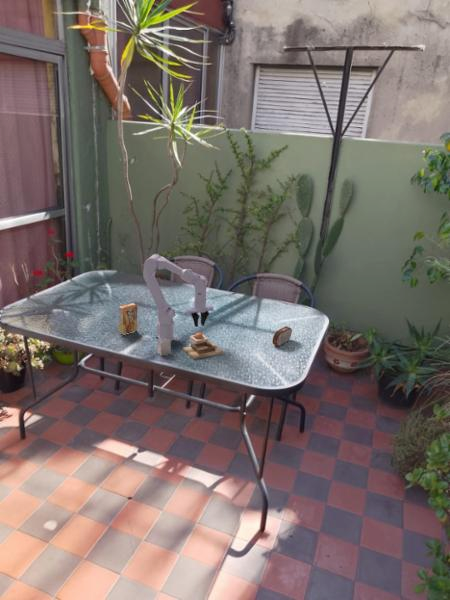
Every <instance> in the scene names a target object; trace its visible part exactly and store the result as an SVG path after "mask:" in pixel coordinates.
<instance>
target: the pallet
mask: <svg viewBox="0 0 450 600" xmlns="http://www.w3.org/2000/svg"><path fill="white" fill-rule="evenodd" d="M182 351H183V352H185V353H186V354H187V355H188V356H189V355H190V356H191V357H192V358H193V359H192V358H191V357H190V356H189V357H190V358H191V359H192V360H194V361H195V359H196V360H201V359H204V358H209V357H213V356H218V355H222V354H224V350H223V349H221V348H219V347H218V346H217V345H216V344H215V343H213V341H209V340H208V341H204V342H199V343H194V344H192V343H191V344H190V346H189V345H188V346H185V347H182ZM200 358H201V359H200Z"/></svg>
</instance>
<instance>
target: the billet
mask: <svg viewBox="0 0 450 600" xmlns="http://www.w3.org/2000/svg"><path fill="white" fill-rule="evenodd" d="M171 342H172V341H170V340H169V339H168V338H165V339H157V354H158V353H159V354H160V355H161V356H160V355H159V354H158V355H159V356H160V357H163V356H162V355H166V356H169V355H168V354H170V355H171V354H172V353H171V352H172V351H171V349H172V348H171V347H172V346H171V345H172V343H171Z"/></svg>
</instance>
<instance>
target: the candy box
mask: <svg viewBox="0 0 450 600" xmlns="http://www.w3.org/2000/svg"><path fill="white" fill-rule="evenodd" d="M118 330H119V332H121V333H122V334H126V333H130V332H133V331H136V330H137V331H138V305H137V304H135V303H134V302H132V303H128V304H124V305H120V306H118Z"/></svg>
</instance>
